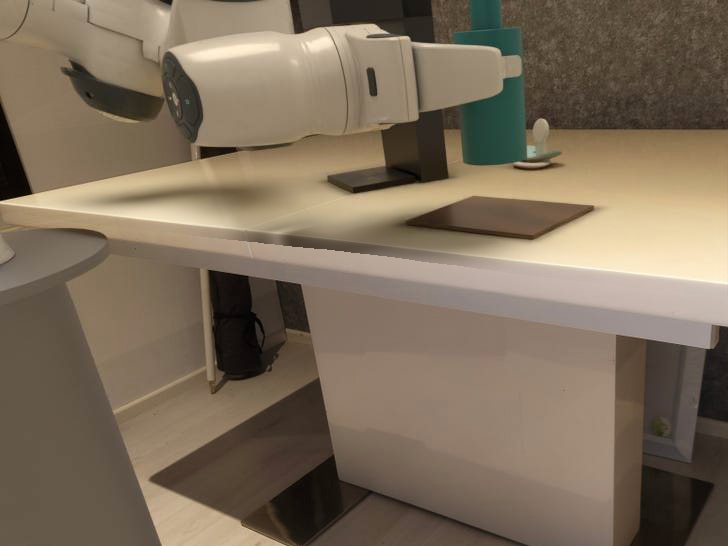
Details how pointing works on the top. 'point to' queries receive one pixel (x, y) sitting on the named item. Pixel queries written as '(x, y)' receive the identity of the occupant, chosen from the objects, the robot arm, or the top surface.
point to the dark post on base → (403, 140)
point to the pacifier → (538, 148)
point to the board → (502, 216)
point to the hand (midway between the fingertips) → (497, 65)
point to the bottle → (500, 112)
